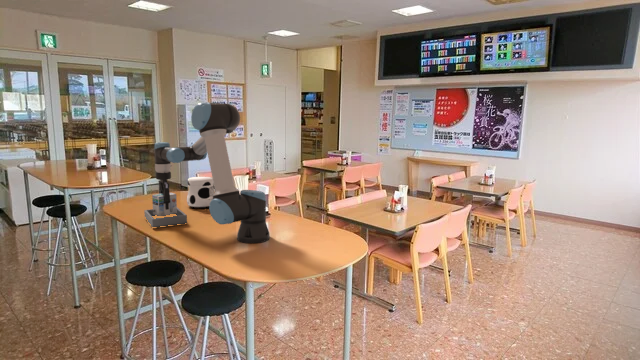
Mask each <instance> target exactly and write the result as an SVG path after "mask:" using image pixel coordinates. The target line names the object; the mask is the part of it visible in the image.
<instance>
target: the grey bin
mask: <svg viewBox="0 0 640 360" xmlns="http://www.w3.org/2000/svg"><path fill="white" fill-rule="evenodd" d="M143 211H144V218H145V217H146V219H147V220H148V222H149V223H150V224H151V226H152V227H160V226H168V225H177V224H185V223H187V224H188V215H187V214H186V213H185V212H184V211H182V210H181V209H180V208H179V207H177V213H175V214H176V215H177V216H173V217H164V218H156V219H154V218H153V217H152V216H155V215H154V214H153V208H152V209H144V210H143ZM148 222H147V223H148ZM151 226H150V227H151ZM152 227H151V228H152Z"/></svg>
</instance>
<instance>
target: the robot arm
mask: <svg viewBox="0 0 640 360" xmlns="http://www.w3.org/2000/svg"><path fill="white" fill-rule="evenodd" d="M190 120H191V125H192V127H193V128H194V129H195V130H197V131H198V132H199V136H200V137H199V138H198V139H197V140H196V141H195V142H194V143H193V144H192V145H190V146H177V147H176V146H175V147H172V146H171V145H170V142H167V141H165V142H164V141H160V142H159V141H158V142H155V143H154V149H153V151H154V163H155V164H154V169H155V170H154V171H155V179H156V180H158V194H162V193H163V196H164V202H163V204H164V216H166V215H170V207H169V203H170V183H169V182H168V180H171V179H172V172H171V170H172V169H171V167H172V166H173V165H172V164H171V163H174V164H179V163H181V162H182V163H183V162H190V161H191V162H193V161H202V160H206V158H207V157H208V162H209V167H210V173H211V177H212V178H213V183H214V194H213V200H212V201H211V202H210V206H209V207H208V208H209V213H210V216H211V217H212V220H213V221H215V222H216V223H217V224H219V225H230V224H233V223H236V222H237V223H238V222H240V225H239V226H238V227H239V228H238V231H237V233H236V234H237V235H236V240H237V241H238V242H240V243H244V244H258V243H264V242H267V241H269V240H270V231H269V227H268V225H267V220H266V218H267V200H266V193H265V192H263V191H261V190H255V189H253V190H252V189H242V190H239V189H237V188H236V187H235V182H234V177H233V173H232V168H231V163H230V157H229V154H228V153H229V152H228V147H227V143H226V137H225V136H226V135H228V134H232V133H233V132H234V131H235V130H236V129H237V128H238V127H239V126H240V125H239V124H240V122H241V115H240V112H239V110H238V109H237V108H236V107H235V106H234V105H232V104H230V103H223V102H222V103H218V102H209V101H207V102H199V103H197V104H196V105H194V107H193V108H192V111H191V119H190ZM167 200H168V201H167Z"/></svg>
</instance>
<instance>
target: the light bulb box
mask: <svg viewBox="0 0 640 360" xmlns="http://www.w3.org/2000/svg"><path fill="white" fill-rule="evenodd" d="M169 192H170V191H169ZM151 195H152V198H151V199H152V209H153V214H154V215H157V216H164V204H163V202H164V196H163V193H162V194H159V193H156V194H151ZM167 201H168V200H167ZM177 201H178V200H177V193H173V192H170V203H169V207H170V214H175V213H177V208H178V205H177Z"/></svg>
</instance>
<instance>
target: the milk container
mask: <svg viewBox="0 0 640 360" xmlns="http://www.w3.org/2000/svg"><path fill="white" fill-rule="evenodd" d="M214 193H215V188H214V183H213V178H212V176H193V177H189V178H188V179H187V196H186V203H187V206H188V207H190V208H193V207H194V208H195V209H206V207H207V208H209V206H210V202H211V201H212V200H213V194H214Z"/></svg>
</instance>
